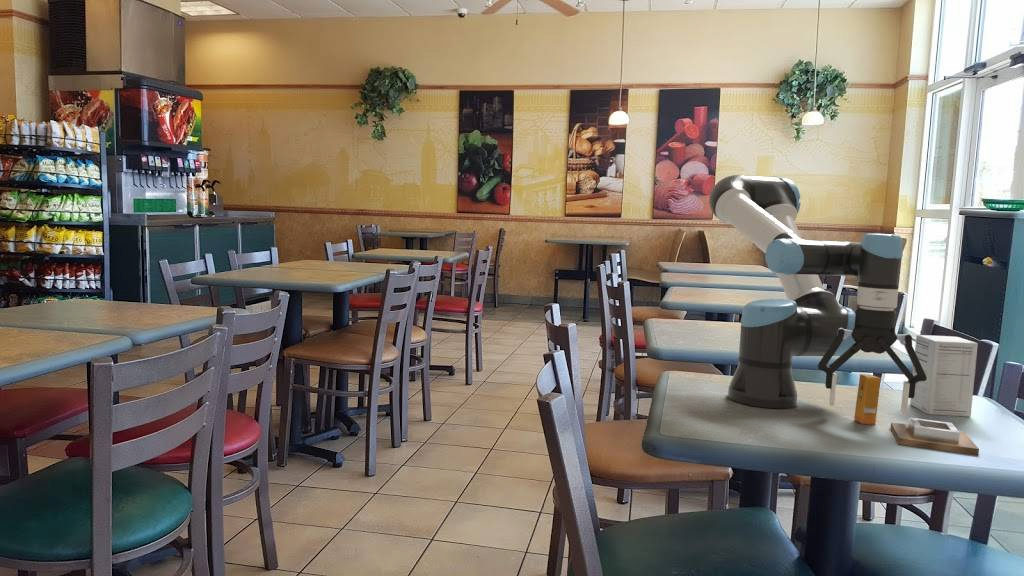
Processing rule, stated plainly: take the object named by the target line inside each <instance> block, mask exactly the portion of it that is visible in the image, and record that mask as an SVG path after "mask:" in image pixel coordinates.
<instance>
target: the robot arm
mask: <svg viewBox="0 0 1024 576" xmlns="http://www.w3.org/2000/svg"><path fill="white" fill-rule="evenodd" d="M800 200H801V193H800V191H799V188H798V186H797V185H796V184H795V183H794V182H793V181H792V180H791V179H790V178H786V177H785V178H783V177H780V176H759V175H758V176H757V175H743V174H734V175H729V176H725V177H724V178H722V179H721V180H719V181H717V183H716V184H715V185H714V186H713V187H712V189H711V190H710V194H709V198H708V204H709V208H710V210H711V212H712V214H713V215H714V216H715V217H716V218H717V219H718V220H719V221H721V223H724V224H728V225H731V226H733V228H735V229H736V230H737V231H738V232H740V233H741V234H742V235H743V236H744V237H746V238H747V240H749V241H750V242H751V243H752V244H754V245H755V246H756V247H757V248H758V249H759V250H761V251H762V252H763V253H764V257H765V263H766V264H767V268H768V270H770V271H771V272H772V273H775V274H777V276H778V279H779V281H780V285H781V286H782V289H783V291H784V294H785V296H786V299H784V298H779V299H774V298H769V299H768V298H767V299H766V298H765V299H757V300H753V301H749V302H748V303H746V304H745V305H744V306H743V309H742V313H741V318H740V336H739V349H738V362H737V367H736V369H735V371H734V374H733V375H732V378H731V381H730V383H729V385H728V389H727V391H728V392H727V397H728V398H729V399H730V400H732V401H734V402H735V403H740V404H744V405H747V406H751V407H752V406H753V407H758V408H765V409H767V408H768V409H790V408H794V407H796V406H797V405H798V393H797V392H798V391H797V387H796V385H795V380H794V376H793V372H792V368H793V367H792V366H793V365H792V364H793V357H821V359H820V361H819V362H818V364H817V368H818V370H819V371H822V372H824V373H826V374H825V387H826V389H829V390H830V393H829V406H835V398H836V389H837V377H838V375H837V373H836V371H837V370H839V368H841V367H842V366H843V365H844V364H845V363H846V362H847V361H849V360H850V359H851V358H852V357H853V356H854V355H855V354H857V353H859V351H862V352H864V353H875V354H878V355H879V354H885V353H887V355H888V356H889V357H890V358H891V360H892V361H893V362H894V363H895V365H896V366H897V367H898V368H899V370H900V371H901V372H902V373H903V375H904V376H905V377H906V378H907V380H903V382H902V384H903V386H902V394H901V396H902V397H901V403H900V404H901V405H900V412H901V414H902V415H905V416H907V415H908V406H909V405H908V404H909V399H911V398H914V396H915V386H916V383H917V382H920V381H926V380H927V377H926V375H925V373H924V371H923V368H922V366H921V364H920V362H919V360H918V357H917V355H916V353H915V348H914V346H913V337H912V336H911V334H910V333H907V332H905V333H903V334H897V333H896V323H897V312H896V310H895V309H896V308H897V307H898V299H899V298H898V297H899V287H900V278H901V269H902V258H903V257H904V256H903V238H902V236H900V235H899V234H893V233H890V234H889V233H887V234H886V233H864V234H863V235H862V238H861V242H856V241H848V240H847V241H845V240H836V241H835V240H814V239H812V240H811V239H804V238H802V235H801V233H800V231H799V229H798V226H797V224H796V222H795V221H796V219H797V217H798V214H799V211H800V209H801V201H800ZM819 276H834V277H835V276H837V277H838V276H839V277H853V278H858V282H857V292H856V305H857V306H858V307H857V308H856V309H855V311H854V310H853V309H852V308H850V307H846V306H840V305H839V303H838V301H837V298H836V296H835V293H833V292H831V291H828V290H825V288H824V286H823V283H822V282H821V278H820V277H819ZM896 341H899V343H900V345H902V346H904V348H905V350H906V353H907V355H908V357H909V359H910V362H911V364H912V367H914V369H915V371H916V373H917V375H913V372H912V371H910V370H909V368H908V367H907V365H905V363H904V362H903V361H902V360H901V358H900V356H898V354H897V353H896V352H895V351H894V350H893V348H892V345H893V344H894V343H896ZM833 357H838V358H837V359H836V360H834V361H833V362H832V363H830V361H831V359H832V358H833ZM828 363H830V365H828Z"/></svg>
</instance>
